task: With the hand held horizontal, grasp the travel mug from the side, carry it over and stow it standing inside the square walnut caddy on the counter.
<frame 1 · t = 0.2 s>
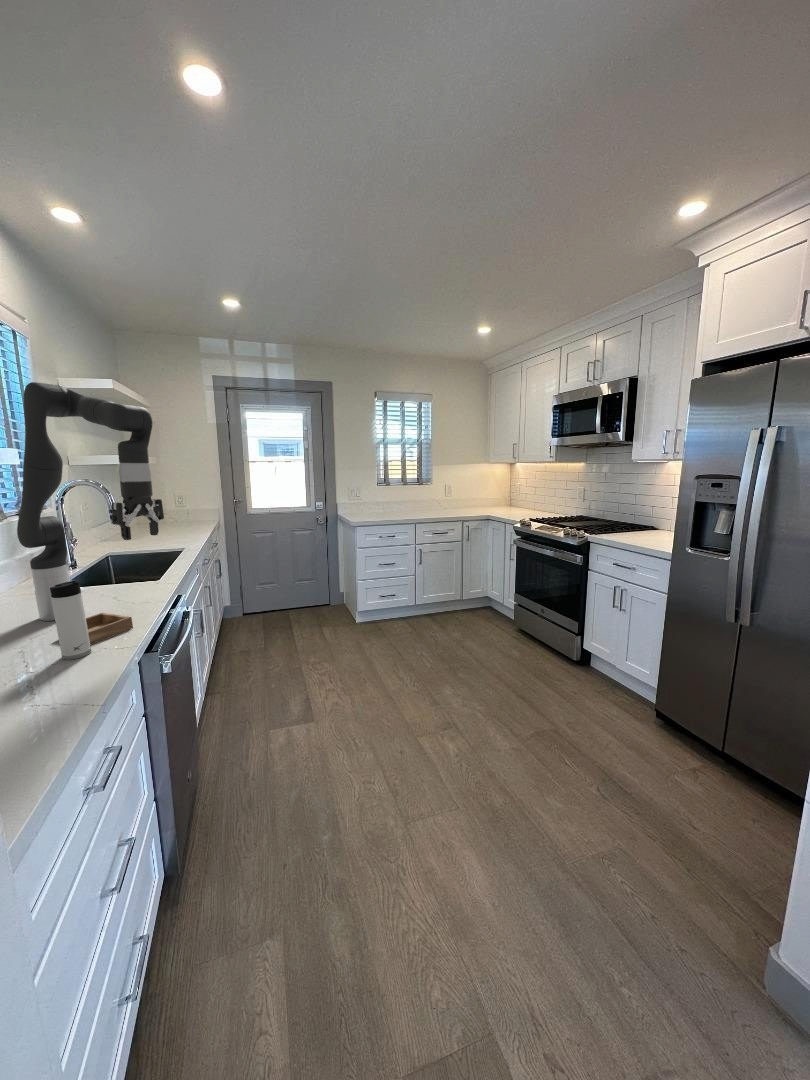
hand: (141, 537, 125), 29 cm above the counter, tool pointing down, fingers open, 8 cm apart
travel mug: (77, 655, 117), on the counter
walnut caddy: (97, 633, 132), on the counter
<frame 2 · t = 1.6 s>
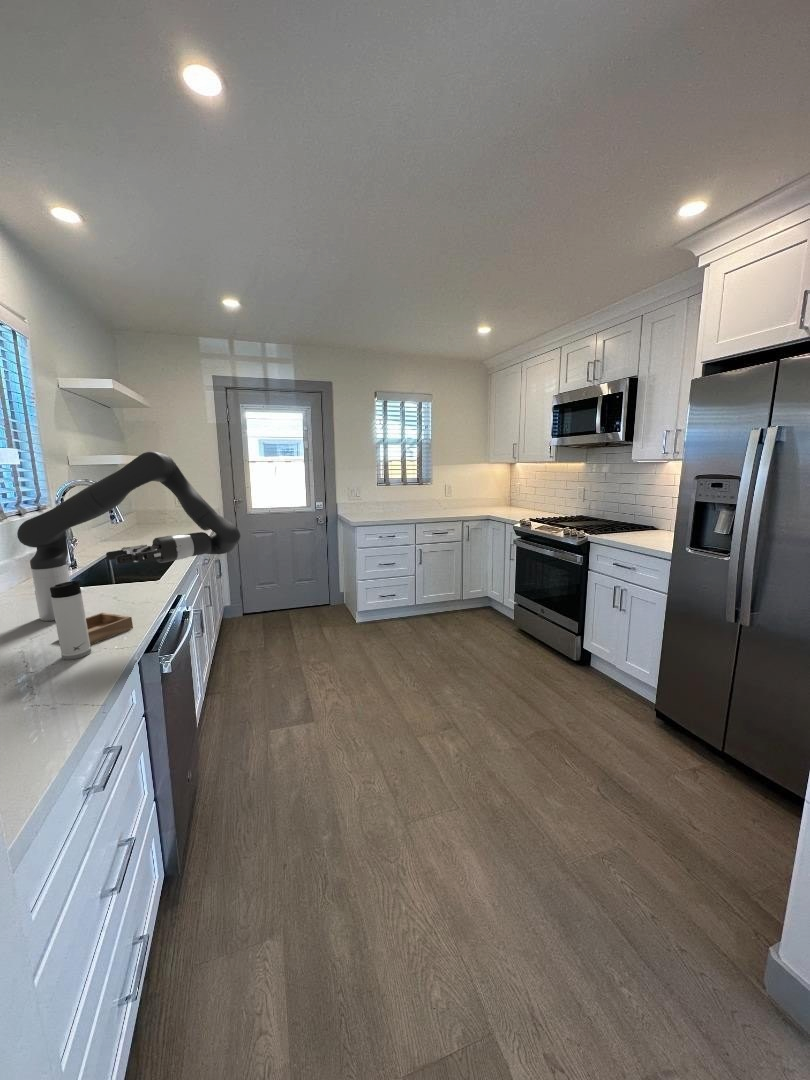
hand: (111, 558, 121), 24 cm above the counter, tool horizontal, fingers open, 8 cm apart
nothing on the counter moved.
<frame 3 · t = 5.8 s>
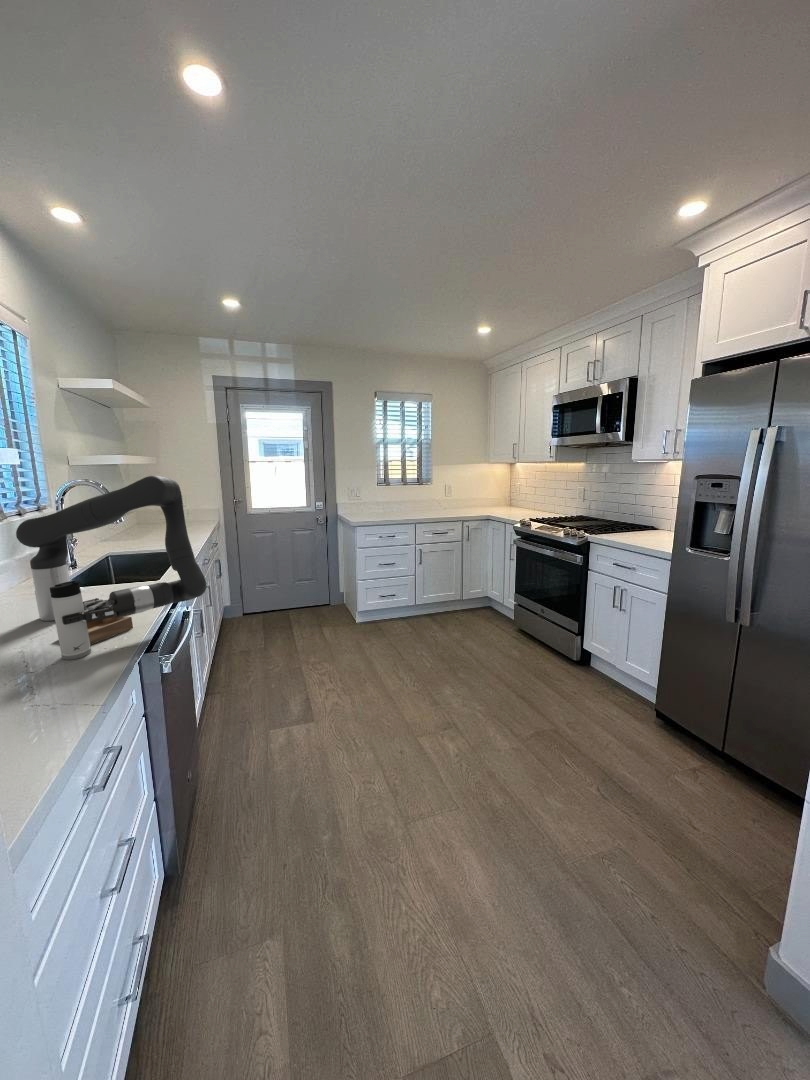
hand: (59, 617, 113), 11 cm above the counter, tool horizontal, fingers closed on travel mug, 6 cm apart
travel mug: (77, 655, 117), on the counter, touching gripper
when the fingers open (13 cm above the counter, at t = 9.6 s): travel mug drops 1 cm, resting on walnut caddy.
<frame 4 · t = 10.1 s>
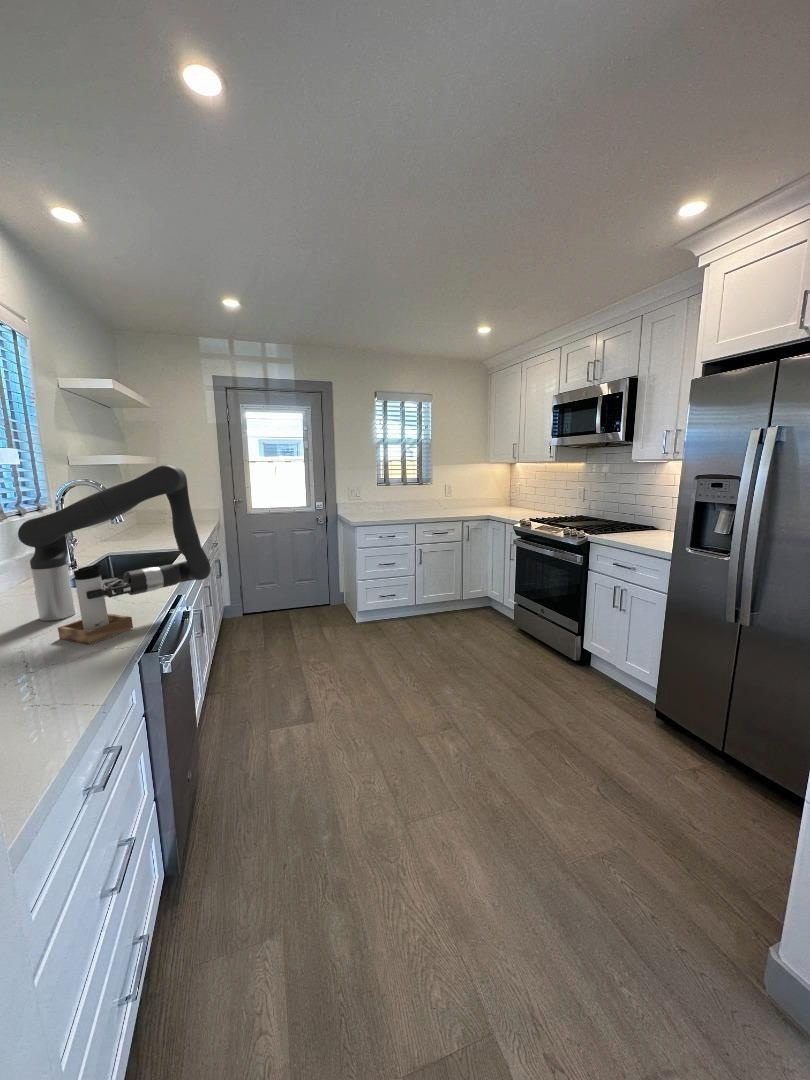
hand: (82, 592, 128), 13 cm above the counter, tool horizontal, fingers open, 8 cm apart
travel mug: (98, 631, 132), resting on walnut caddy
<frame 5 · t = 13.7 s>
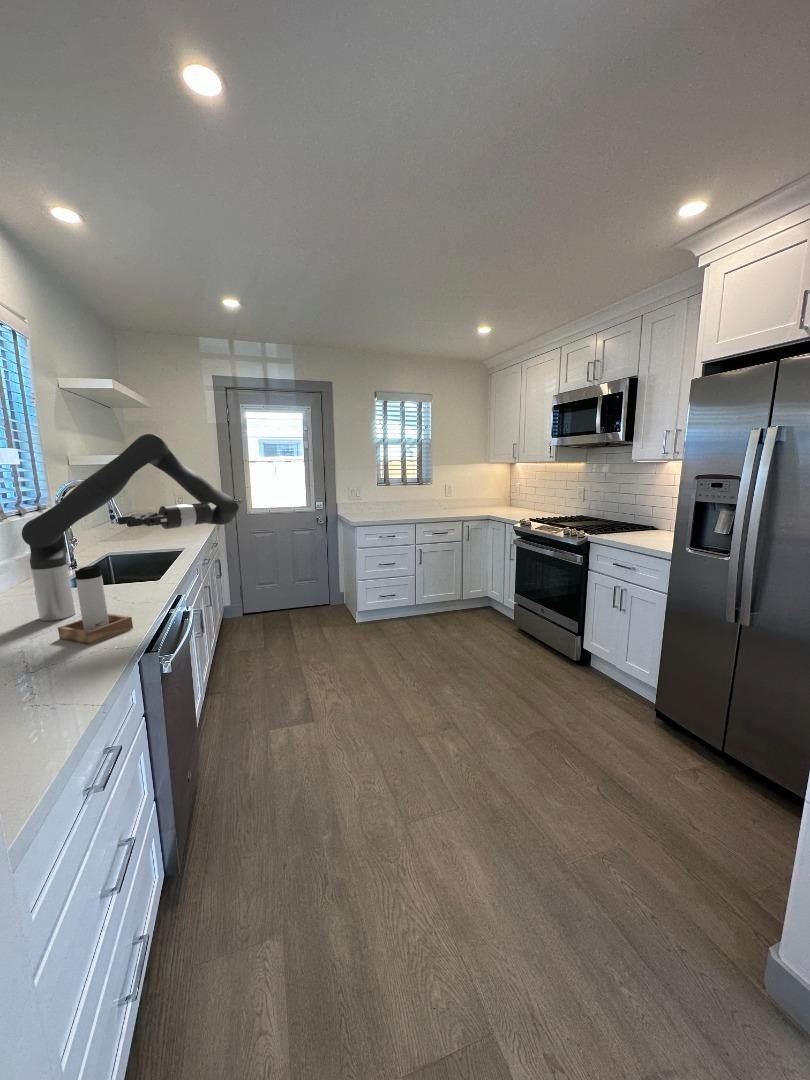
hand: (122, 522, 134), 32 cm above the counter, tool horizontal, fingers open, 8 cm apart
nothing on the counter moved.
at the end: travel mug inside the target area on the walnut caddy (0.2 cm from its centre), point 0.4 cm above the walnut caddy's base; travel mug tilted 0°; the gripper is holding nothing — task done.
